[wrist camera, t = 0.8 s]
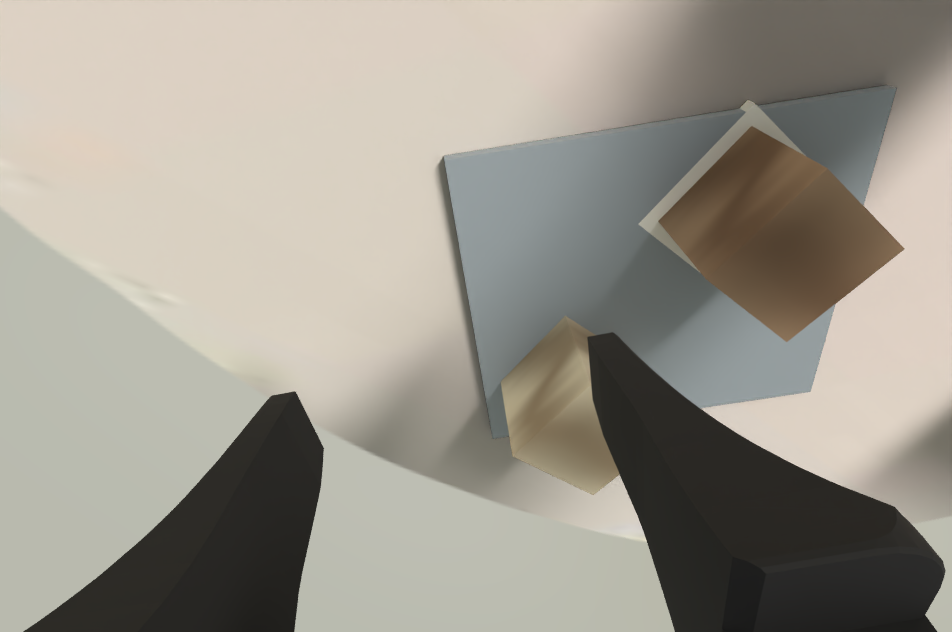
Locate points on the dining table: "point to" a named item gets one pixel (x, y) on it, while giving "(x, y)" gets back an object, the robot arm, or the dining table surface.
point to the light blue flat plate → (639, 245)
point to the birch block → (558, 411)
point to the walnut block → (778, 233)
